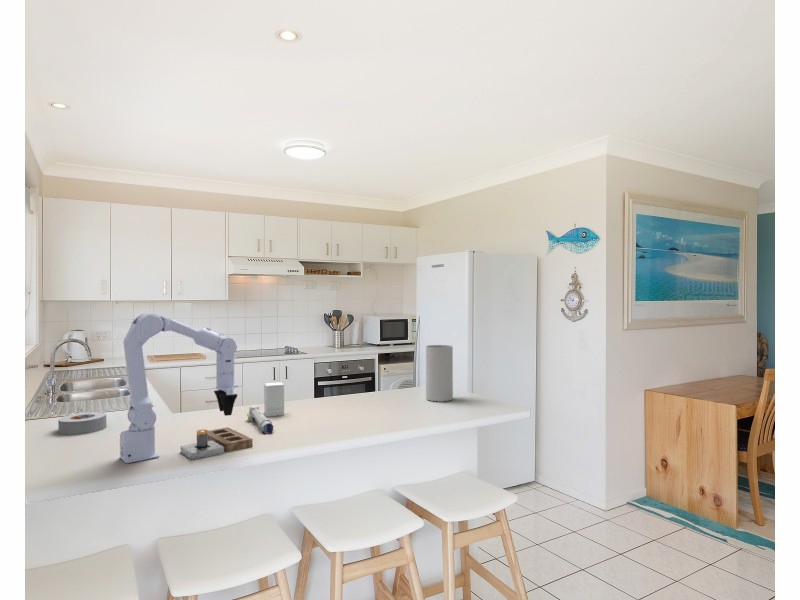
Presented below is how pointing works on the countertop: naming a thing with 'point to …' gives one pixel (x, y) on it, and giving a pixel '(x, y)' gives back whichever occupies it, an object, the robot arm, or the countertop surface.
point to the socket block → (202, 450)
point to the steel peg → (202, 439)
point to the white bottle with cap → (259, 419)
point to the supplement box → (274, 399)
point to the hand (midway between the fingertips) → (225, 413)
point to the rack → (229, 439)
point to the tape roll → (82, 423)
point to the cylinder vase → (439, 373)
